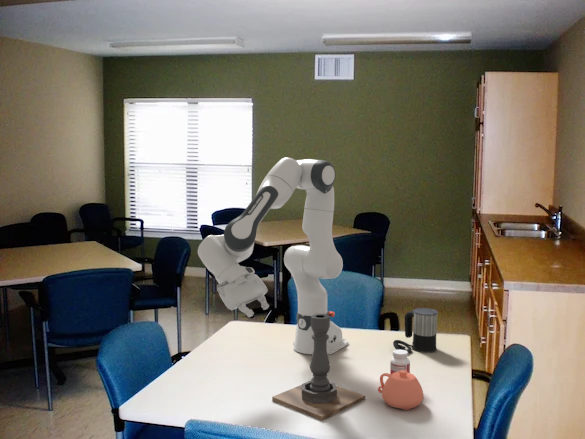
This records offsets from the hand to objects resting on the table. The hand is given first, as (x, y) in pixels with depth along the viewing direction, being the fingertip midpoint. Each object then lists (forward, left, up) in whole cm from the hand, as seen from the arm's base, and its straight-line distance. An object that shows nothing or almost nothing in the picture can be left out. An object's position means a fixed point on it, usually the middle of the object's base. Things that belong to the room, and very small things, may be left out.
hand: (259, 311), depth 197 cm
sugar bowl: (-19, +41, -24) cm, 51 cm away
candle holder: (-4, +22, -23) cm, 32 cm away
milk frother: (-64, +18, -24) cm, 70 cm away
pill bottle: (-31, +33, -24) cm, 51 cm away
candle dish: (-4, +22, -24) cm, 33 cm away
